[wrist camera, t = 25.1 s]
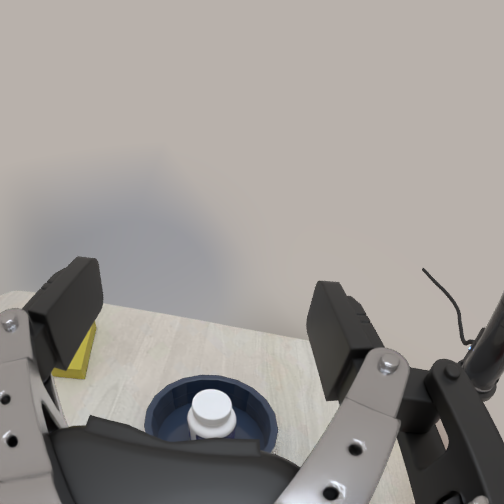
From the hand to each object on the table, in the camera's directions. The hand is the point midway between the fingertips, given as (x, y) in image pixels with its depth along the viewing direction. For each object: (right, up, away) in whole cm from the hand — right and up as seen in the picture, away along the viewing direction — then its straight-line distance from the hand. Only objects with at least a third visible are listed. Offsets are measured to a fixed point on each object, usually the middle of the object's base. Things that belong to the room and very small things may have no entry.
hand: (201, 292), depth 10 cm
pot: (-3, -22, +20) cm, 30 cm away
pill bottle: (-3, -22, +19) cm, 29 cm away
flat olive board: (-36, -15, +27) cm, 47 cm away
